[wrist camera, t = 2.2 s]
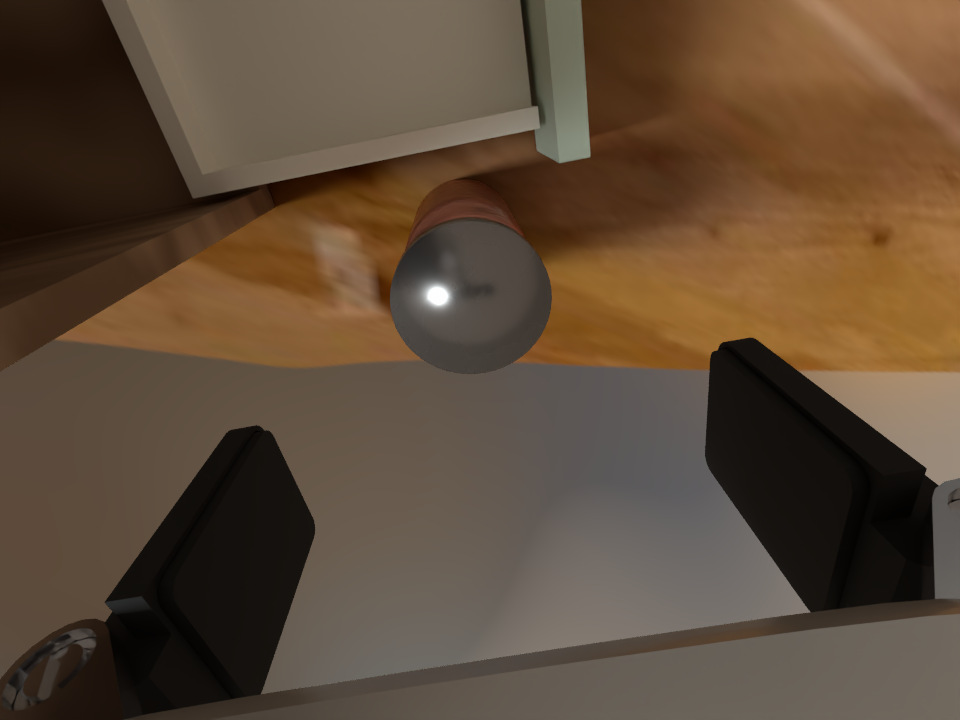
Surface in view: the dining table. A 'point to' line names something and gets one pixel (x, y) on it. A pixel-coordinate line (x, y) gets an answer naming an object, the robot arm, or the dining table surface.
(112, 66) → the drawer cabinet
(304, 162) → the green drawer
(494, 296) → the tea tin
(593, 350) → the dining table surface
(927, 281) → the dining table surface
